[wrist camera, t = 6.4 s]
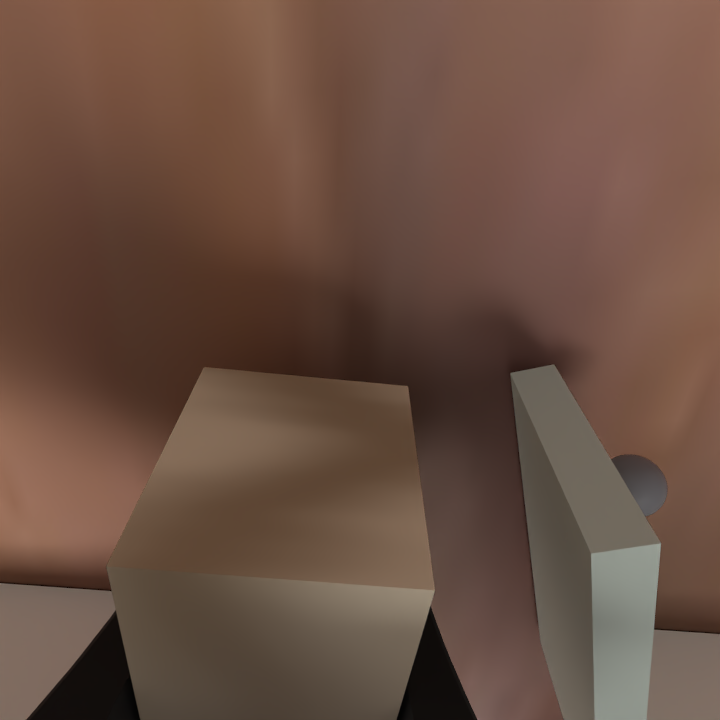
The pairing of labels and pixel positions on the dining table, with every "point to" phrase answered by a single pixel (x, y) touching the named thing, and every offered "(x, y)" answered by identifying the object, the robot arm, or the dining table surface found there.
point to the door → (588, 552)
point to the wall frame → (94, 608)
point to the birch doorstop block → (277, 554)
